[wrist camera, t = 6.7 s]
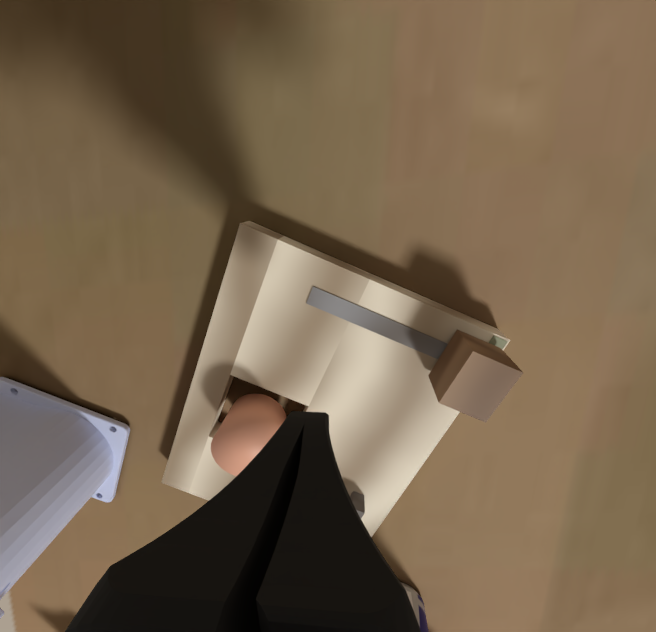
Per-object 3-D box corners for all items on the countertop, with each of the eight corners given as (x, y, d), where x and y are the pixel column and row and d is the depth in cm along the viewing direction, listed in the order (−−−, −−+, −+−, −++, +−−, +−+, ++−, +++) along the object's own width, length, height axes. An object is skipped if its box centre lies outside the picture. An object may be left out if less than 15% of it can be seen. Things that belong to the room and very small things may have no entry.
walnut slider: (428, 375, 18) (438, 403, 15) (457, 329, 17) (473, 351, 14) (469, 392, 18) (485, 422, 16) (500, 347, 17) (523, 372, 15)
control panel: (172, 466, 24) (150, 498, 22) (249, 220, 17) (230, 225, 15) (357, 536, 25) (357, 576, 22) (498, 329, 18) (521, 351, 16)
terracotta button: (224, 428, 21) (203, 463, 18) (240, 384, 20) (220, 416, 17) (275, 448, 21) (263, 486, 19) (294, 406, 20) (284, 441, 17)
